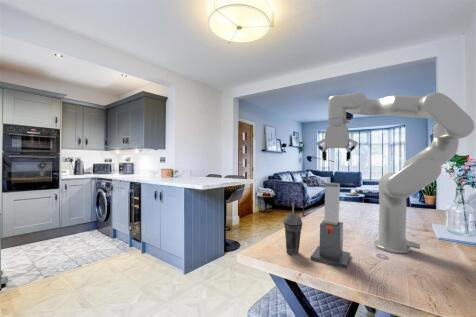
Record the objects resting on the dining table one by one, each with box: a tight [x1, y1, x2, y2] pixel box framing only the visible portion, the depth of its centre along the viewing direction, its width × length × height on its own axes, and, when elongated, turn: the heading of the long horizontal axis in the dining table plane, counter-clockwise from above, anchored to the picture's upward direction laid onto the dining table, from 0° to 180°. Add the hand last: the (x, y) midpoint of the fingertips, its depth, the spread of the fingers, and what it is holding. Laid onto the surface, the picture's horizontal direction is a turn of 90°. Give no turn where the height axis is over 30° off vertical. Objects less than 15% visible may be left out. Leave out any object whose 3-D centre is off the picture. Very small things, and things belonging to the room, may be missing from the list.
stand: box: [310, 219, 351, 269], centre depth 87 cm, size 12×12×13 cm
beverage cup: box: [283, 202, 303, 256], centre depth 91 cm, size 7×7×20 cm
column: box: [324, 182, 341, 226], centre depth 87 cm, size 4×4×20 cm
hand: (336, 160), depth 105 cm, fingers open, 9 cm apart
